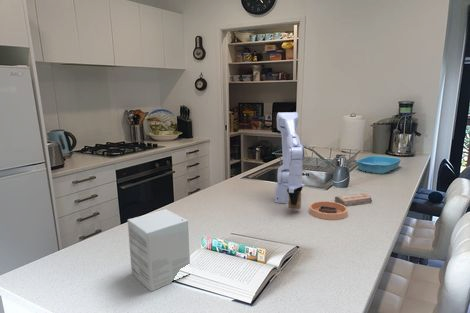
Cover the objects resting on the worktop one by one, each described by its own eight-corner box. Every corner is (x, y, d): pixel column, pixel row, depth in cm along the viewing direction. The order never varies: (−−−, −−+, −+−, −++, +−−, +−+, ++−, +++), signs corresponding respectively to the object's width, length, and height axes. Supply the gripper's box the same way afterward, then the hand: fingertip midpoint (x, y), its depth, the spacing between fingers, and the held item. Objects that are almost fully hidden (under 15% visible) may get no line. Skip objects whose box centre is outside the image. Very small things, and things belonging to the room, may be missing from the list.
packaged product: (362, 191, 161) (375, 197, 151) (361, 200, 161) (374, 206, 152) (330, 194, 156) (342, 200, 146) (329, 203, 157) (341, 211, 147)
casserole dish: (372, 162, 243) (373, 153, 242) (404, 167, 228) (405, 157, 227) (350, 171, 218) (351, 161, 216) (384, 177, 202) (385, 166, 201)
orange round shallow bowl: (306, 218, 138) (306, 211, 137) (312, 206, 152) (313, 199, 151) (345, 224, 131) (345, 216, 131) (348, 211, 146) (348, 203, 145)
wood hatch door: (288, 207, 143) (288, 192, 142) (289, 206, 145) (290, 191, 144) (299, 209, 141) (300, 194, 140) (300, 207, 143) (301, 192, 142)
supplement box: (169, 258, 106) (166, 208, 103) (191, 274, 97) (189, 220, 93) (130, 273, 98) (126, 219, 94) (150, 292, 88) (146, 233, 85)
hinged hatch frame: (318, 213, 141) (318, 209, 140) (320, 209, 145) (320, 205, 145) (335, 215, 138) (336, 211, 138) (337, 212, 142) (337, 207, 142)
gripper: (300, 179, 132) (300, 210, 135) (307, 170, 145) (306, 199, 148) (284, 177, 135) (283, 208, 137) (292, 169, 148) (291, 197, 150)
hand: (294, 203), depth 143 cm, fingers closed on wood hatch door, 2 cm apart
